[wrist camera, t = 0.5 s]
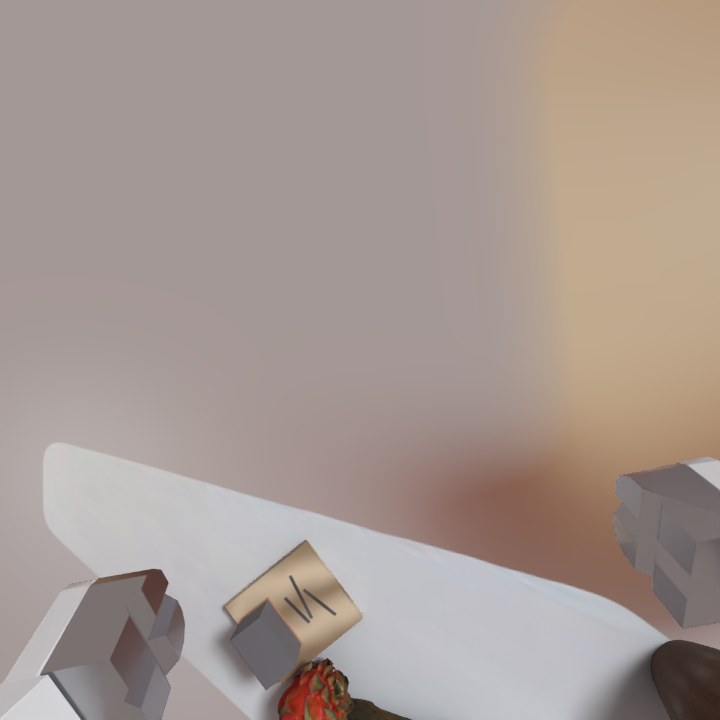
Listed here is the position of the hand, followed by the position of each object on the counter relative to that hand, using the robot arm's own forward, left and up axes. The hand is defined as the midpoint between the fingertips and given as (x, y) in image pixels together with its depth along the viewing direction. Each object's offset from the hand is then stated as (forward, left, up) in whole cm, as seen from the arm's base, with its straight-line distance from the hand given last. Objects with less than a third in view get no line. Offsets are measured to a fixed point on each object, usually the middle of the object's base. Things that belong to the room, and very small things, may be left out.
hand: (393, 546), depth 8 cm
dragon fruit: (-25, +28, -52) cm, 64 cm away
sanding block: (-14, +27, -51) cm, 59 cm away
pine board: (-14, +24, -52) cm, 59 cm away
